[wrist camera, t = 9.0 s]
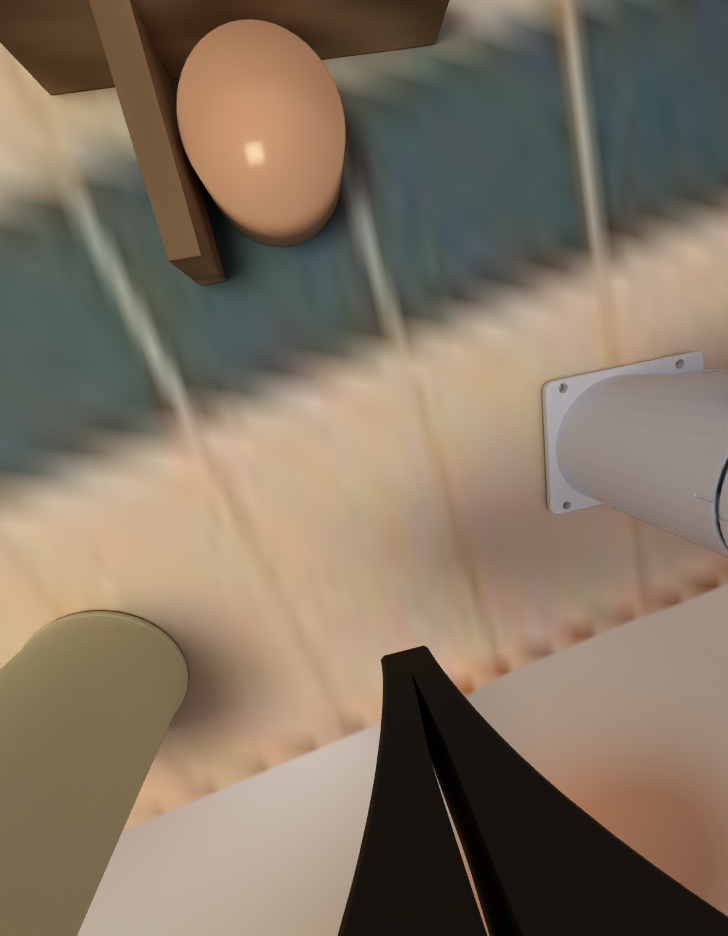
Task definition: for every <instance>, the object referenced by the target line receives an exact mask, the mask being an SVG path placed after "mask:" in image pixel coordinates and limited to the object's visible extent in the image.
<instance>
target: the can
mask: <svg viewBox="0 0 728 936" xmlns="http://www.w3.org/2000/svg"><path fill="white" fill-rule="evenodd" d="M187 686H188V670H187V665H186V662H185V659H184V657H183V655H182V653H181V651H180V649H179V648H178V646H177V645H176V644H175V643H174V641H173V640H172V639H171V638H170V637H169V636H168V635H167V634H165V633H164V632H163V631H162V630H160V629H159V628H157V627H156V626H154V625H153V624H151V623H149V622H147V621H145V620H142V619H140V618H137V617H135V616H131V615H128V614H124V613H118V612H111V611H89V612H81V613H76V614H72V615H68V616H65V617H62V618H60V619H57V620H55V621H53V622H51V623H50V624H48V625H46V626H45V627H43V628H42V629H40V630H39V631H38V632H37V633H35V634H34V635H33V636H32V637H31V638H30V639H29V640H28V642H27V643H26V644H25V646H24V647H23V649H22V650H21V651H20V652H19V653H17V654H16V655H15V656H14V657H13V658H12V659H11V660H10V661H9V662H8V663H7V664H6V665H5V666H4V667H3V668H2V669H1V670H0V936H77V935H78V932H79V930H80V927H81V925H82V923H83V920H84V918H85V916H86V914H87V911H88V909H89V907H90V904H91V902H92V900H93V897H94V895H95V893H96V890H97V888H98V886H99V883H100V881H101V879H102V876H103V874H104V872H105V870H106V867H107V865H108V863H109V860H110V858H111V856H112V853H113V851H114V849H115V847H116V844H117V842H118V840H119V837H120V835H121V833H122V831H123V828H124V826H125V824H126V821H127V819H128V817H129V815H130V812H131V810H132V808H133V805H134V803H135V801H136V798H137V796H138V794H139V792H140V789H141V787H142V785H143V782H144V780H145V778H146V776H147V774H148V771H149V769H150V767H151V765H152V762H153V760H154V758H155V756H156V753H157V751H158V749H159V747H160V744H161V742H162V740H163V738H164V735H165V733H166V731H167V729H168V727H169V725H170V723H171V720H172V718H173V716H174V714H175V713H176V711H177V710H178V708H179V707H180V706H181V704H182V702H183V700H184V697H185V694H186V691H187Z"/></svg>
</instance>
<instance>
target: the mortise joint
mask: <svg viewBox="0 0 728 936" xmlns="http://www.w3.org/2000/svg"><path fill="white" fill-rule="evenodd" d="M448 3H449V0H0V42H1V44H2V45H3V46H4V47H5V48H6V49H7V50H8V51H9V52H10V53H11V54H12V55H13V56H14V57H15V58H16V59H17V60H18V61H19V62H20V63H21V65H22V66H23V67H24V68H25V69H26V70H27V71H28V72H29V73H30V74H31V75H32V76H33V77H34V78H35V79H36V80H37V81H38V82H39V83H40V85H41V86H42V87H43V88H44V89H45V90H46V91H47V92H48V93H49V94H50V95H54V94H61V93H69V92H76V91H84V90H92V89H99V88H107V87H114V86H115V87H116V91H117V94H118V97H119V101H120V104H121V107H122V110H123V114H124V117H125V120H126V124H127V127H128V130H129V133H130V137H131V140H132V143H133V147H134V150H135V153H136V156H137V160H138V163H139V166H140V169H141V173H142V176H143V179H144V183H145V186H146V189H147V192H148V196H149V199H150V202H151V206H152V209H153V212H154V215H155V219H156V222H157V225H158V229H159V232H160V235H161V238H162V242H163V245H164V248H165V251H166V255H167V258H168V261H169V262H171V263H172V264H173V265H174V266H176V267H177V268H178V269H180V270H181V271H182V272H183V273H185V274H186V275H187V276H189V277H190V278H191V279H192V280H194V281H195V282H196V283H198V284H199V285H200V286H201V285H206V284H212V283H218V282H224V281H226V279H225V275H224V272H223V268H222V264H221V260H220V257H219V253H218V249H217V245H216V242H215V238H214V234H213V231H212V227H211V223H210V219H209V216H208V212H207V208H206V204H205V201H204V197H203V193H202V190H201V186H200V182H199V178H198V175H197V173H196V171H195V169H194V168H193V166H192V164H191V162H190V160H189V158H188V156H187V154H186V151H185V149H184V146H183V143H182V140H181V136H180V131H179V127H178V120H177V96H176V93H175V89H174V85H173V81H172V79H175V78H180V76H181V73H182V70H183V67H184V65H185V63H186V60H187V58H188V57H189V55H190V53H191V52H192V50H193V49H194V47H195V46H196V45H197V44H198V42H199V41H200V40H201V39H202V38H203V37H205V36H206V35H207V34H208V33H209V32H211V31H212V30H214V29H216V28H217V27H219V26H221V25H224V24H226V23H229V22H233V21H237V20H249V19H253V20H261V21H266V22H270V23H273V24H276V25H278V26H280V27H283V28H285V29H287V30H289V31H290V32H292V33H293V34H295V35H296V36H298V37H299V38H300V39H302V40H303V41H304V42H305V43H306V44H308V46H309V47H310V48H311V49H312V50H313V51H314V52H315V53H316V54H317V55H318V57H319V58H320V59H327V58H334V57H342V56H349V55H357V54H365V53H372V52H380V51H387V50H395V49H402V48H410V47H418V46H425V45H433V44H435V41H436V38H437V35H438V32H439V29H440V27H441V24H442V21H443V18H444V15H445V12H446V9H447V6H448Z"/></svg>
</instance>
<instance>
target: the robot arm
mask: <svg viewBox="0 0 728 936" xmlns="http://www.w3.org/2000/svg"><path fill="white" fill-rule="evenodd" d="M703 361H704V358H703V354H702V353H701V352H699V351H695V352H687V353H682V354H678V355H673V356H668V357H663V358H658V359H653V360H648V361H644V362H639V363H634V364H629V365H624V366H619V367H614V368H610V369H605V370H600V371H595V372H590V373H585V374H580V375H576V376H571V377H566V378H561V379H556V380H551V381H548V382H547V383H546V384H545V385H544V386H543V389H542V398H543V419H544V441H545V462H546V483H547V505H548V510H549V511H550V512H551V513H553V514H555V515H559V514H563V513H568V512H572V511H576V510H581V509H585V508H589V507H593V506H598V505H602V504H606V505H608V506H610V507H613V508H615V509H617V510H620V511H622V512H624V513H626V514H629V515H631V516H633V517H635V518H638V519H640V520H642V521H645V522H647V523H649V524H651V525H654V526H656V527H658V528H661V529H663V530H665V531H667V532H670V533H672V534H674V535H676V536H679V537H681V538H683V539H686V540H688V541H690V542H692V543H695V544H697V545H699V546H701V547H704V548H706V549H708V550H711V551H713V552H715V553H717V554H720V555H722V556H724V557H726V558H728V369H703ZM676 362H677V366H676ZM561 384H562V385H563V390H562V391H561V392H559V386H560V385H561ZM565 502H566V505H565V506H564V507H563V504H564V503H565ZM381 664H382V672H383V706H382V720H381V732H380V742H379V749H378V756H377V765H376V771H375V778H374V784H373V790H372V795H371V801H370V806H369V811H368V816H367V821H366V826H365V830H364V835H363V839H362V844H361V848H360V853H359V857H358V861H357V866H356V870H355V874H354V878H353V882H352V886H351V889H350V893H349V897H348V900H347V904H346V908H345V912H344V915H343V918H342V922H341V926H340V929H339V933H338V936H487V933H486V930H485V928H484V924H483V921H482V918H481V915H480V912H479V909H478V906H477V903H476V900H475V897H474V894H473V891H472V888H471V885H470V882H469V879H468V875H467V873H466V870H465V867H464V863H463V860H462V857H461V854H460V851H459V848H458V845H457V842H456V838H455V835H454V832H453V829H452V826H451V823H450V820H449V817H448V813H447V811H446V807H445V804H444V801H443V798H442V794H441V791H440V788H439V785H438V782H437V779H438V781H439V784H440V786H441V789H442V792H443V795H444V798H445V800H446V803H447V806H448V808H449V811H450V814H451V817H452V820H453V822H454V825H455V828H456V830H457V833H458V836H459V838H460V841H461V844H462V847H463V850H464V853H465V856H466V859H467V862H468V865H469V868H470V871H471V874H472V878H473V881H474V884H475V888H476V891H477V895H478V898H479V901H480V905H481V908H482V911H483V915H484V918H485V922H486V925H487V928H488V932H489V935H490V936H728V917H727V916H726V915H725V914H723V913H721V912H720V911H719V910H717V909H716V908H714V907H713V906H711V905H710V904H709V903H707V902H706V901H704V900H703V899H701V898H700V897H698V896H697V895H695V894H694V893H692V892H691V891H690V890H688V889H686V888H685V887H684V886H682V885H681V884H680V883H678V882H677V881H676V880H674V879H673V878H671V877H670V876H669V875H667V874H666V873H664V872H663V871H661V870H660V869H659V868H657V867H656V866H654V865H653V864H652V863H650V862H649V861H648V860H646V859H645V858H644V857H642V856H641V855H640V854H638V853H637V852H635V851H634V850H633V849H631V848H630V847H629V846H628V845H626V844H625V843H624V842H622V841H621V840H620V839H618V838H617V837H616V836H614V835H613V834H612V833H611V832H609V831H608V830H607V829H606V828H605V827H603V826H602V825H601V824H599V823H598V822H597V821H596V820H595V819H593V818H592V817H591V816H590V815H588V814H587V813H586V812H585V811H583V810H582V809H581V808H580V807H578V806H577V805H576V804H574V803H573V802H572V801H571V800H570V799H569V798H567V797H566V796H565V795H564V794H563V793H561V792H560V791H559V790H558V789H557V788H556V787H555V786H553V785H552V784H551V783H550V782H549V781H548V780H546V779H545V778H544V777H543V776H542V775H541V774H539V772H537V771H536V770H535V769H534V768H533V767H532V766H531V765H530V764H529V763H528V762H527V761H526V760H524V759H523V758H522V757H521V756H520V755H519V754H518V753H517V752H516V751H515V750H514V749H513V748H512V747H511V746H510V745H509V744H508V743H507V742H506V741H505V740H504V739H503V738H502V737H501V736H500V735H499V734H498V733H497V732H496V731H495V730H494V729H493V728H492V727H491V726H490V725H489V724H488V723H487V721H486V720H485V719H484V718H483V717H482V716H481V715H480V714H479V713H478V712H477V711H476V709H475V708H474V707H473V706H472V705H471V704H470V702H468V700H467V699H466V698H465V697H464V696H463V694H462V693H461V692H460V691H459V690H458V688H457V687H456V686H455V685H454V684H453V682H452V681H451V680H450V679H449V677H448V676H447V675H446V673H445V672H444V671H443V669H442V668H441V667H440V665H439V664H438V663H437V661H436V660H435V658H434V657H433V655H432V654H431V652H430V651H429V649H428V648H427V647H425V646H420V647H417V648H413V649H409V650H405V651H401V652H397V653H393V654H389V655H386V656H384V657H383V658H382V659H381ZM432 765H433V766H432ZM433 768H434V769H433ZM434 770H435V772H434ZM435 773H436V776H437V779H436V776H435Z"/></svg>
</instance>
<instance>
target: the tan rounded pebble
mask: <svg viewBox="0 0 728 936" xmlns="http://www.w3.org/2000/svg"><path fill="white" fill-rule="evenodd" d="M177 120H178V127H179V131H180V136H181V140H182V143H183V146H184V149H185V151H186V154H187V156H188V158H189V160H190V162H191V164H192V166H193V168H194V169H195V171H196V173H197V174H198V176H199V178H200V179H201V181H202V183H203V184H204V186H205V188H206V189H207V191H208V193H209V194H210V196H211V198H212V199H213V201H214V203H215V204H216V206H217V208H218V209H219V211H220V212H221V214H222V215H223V216H224V218H225V219H226V220H227V221H228V222H229V223H230V224H231V225H232V226H233V227H234V228H235V229H236V230H237V231H238V232H240V233H241V234H243V235H244V236H246V237H247V238H249V239H251V240H253V241H255V242H257V243H260V244H263V245H267V246H272V247H289V246H294V245H298V244H301V243H303V242H305V241H307V240H309V239H311V238H312V237H314V236H315V235H316V234H317V233H319V232H320V231H321V230H322V229H323V227H324V226H325V225H326V224H327V222H328V221H329V220H330V218H331V216H332V214H333V212H334V210H335V208H336V205H337V202H338V199H339V194H340V188H341V178H342V169H343V159H344V149H345V119H344V112H343V107H342V103H341V99H340V96H339V93H338V90H337V88H336V85H335V83H334V81H333V79H332V77H331V75H330V73H329V71H328V70H327V68H326V66H325V65H324V63H323V62H322V61H321V59H320V58H319V57H318V55H317V54H316V53H315V52H314V51H313V50H312V49H311V48H310V47H309V46H308V44H306V43H305V42H304V41H303V40H302V39H300V38H299V37H298V36H296V35H295V34H293V33H292V32H290V31H289V30H287V29H285V28H283V27H280V26H278V25H276V24H273V23H270V22H266V21H261V20H253V19H249V20H237V21H233V22H229V23H226V24H224V25H221V26H219V27H217V28H216V29H214V30H212V31H211V32H209V33H208V34H207V35H206V36H205V37H203V38H202V39H201V40H200V41H199V42H198V44H197V45H196V46H195V47H194V49H193V50H192V52H191V53H190V55H189V57H188V58H187V60H186V63H185V65H184V67H183V70H182V73H181V76H180V80H179V84H178V92H177Z"/></svg>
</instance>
